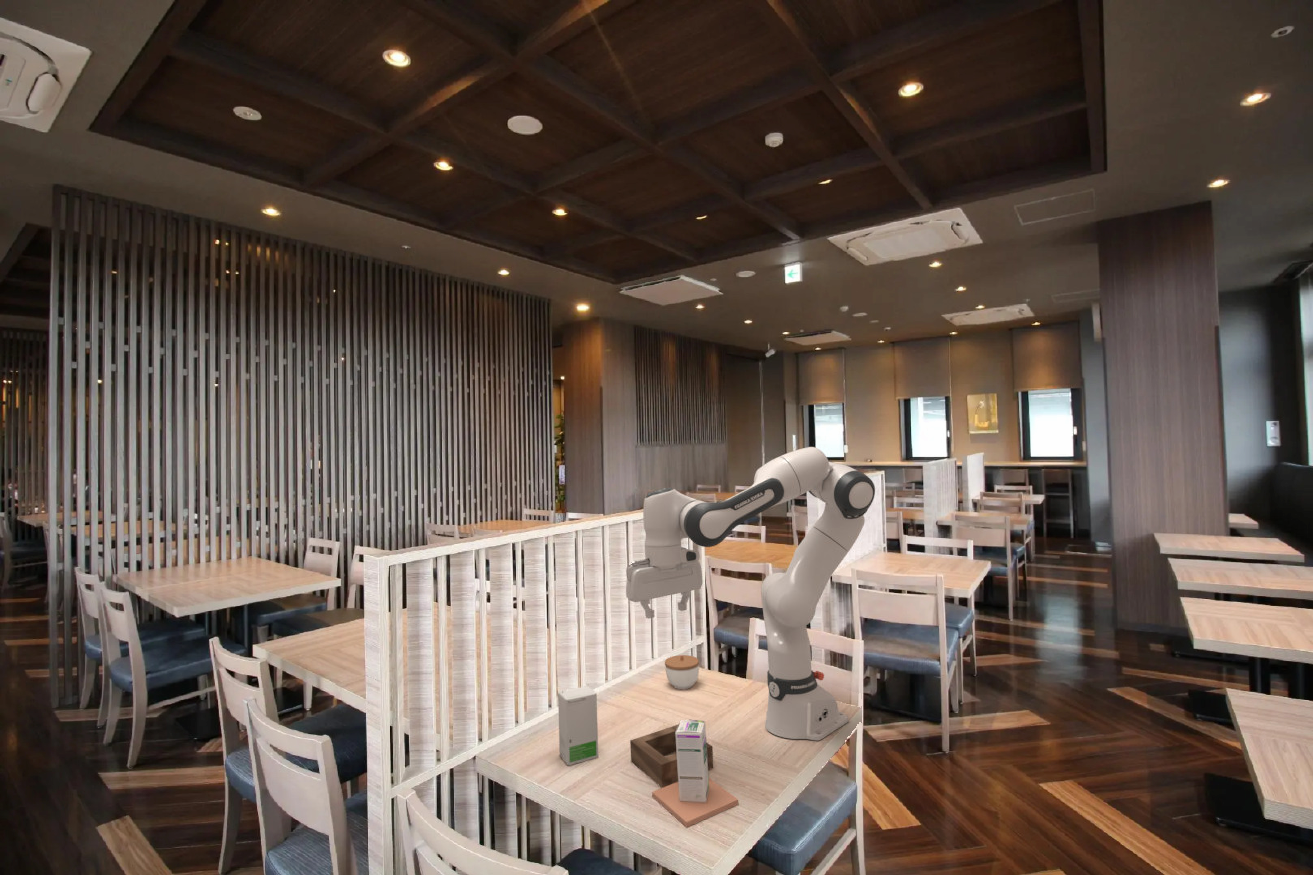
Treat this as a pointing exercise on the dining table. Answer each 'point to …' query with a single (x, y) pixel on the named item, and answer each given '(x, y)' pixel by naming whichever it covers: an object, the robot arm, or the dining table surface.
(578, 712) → the skincare box
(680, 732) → the syrup box
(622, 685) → the dining table surface
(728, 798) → the terracotta tile
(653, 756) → the holder sleeve
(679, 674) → the lidded jar
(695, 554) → the robot arm
